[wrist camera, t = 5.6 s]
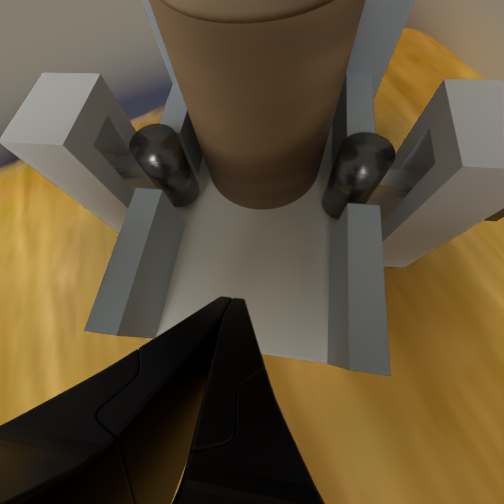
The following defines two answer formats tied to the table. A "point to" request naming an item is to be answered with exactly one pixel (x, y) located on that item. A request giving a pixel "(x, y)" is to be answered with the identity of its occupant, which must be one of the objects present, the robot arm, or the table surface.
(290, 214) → the channel
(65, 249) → the table surface
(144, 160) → the plunger
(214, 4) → the peg
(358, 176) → the plunger
